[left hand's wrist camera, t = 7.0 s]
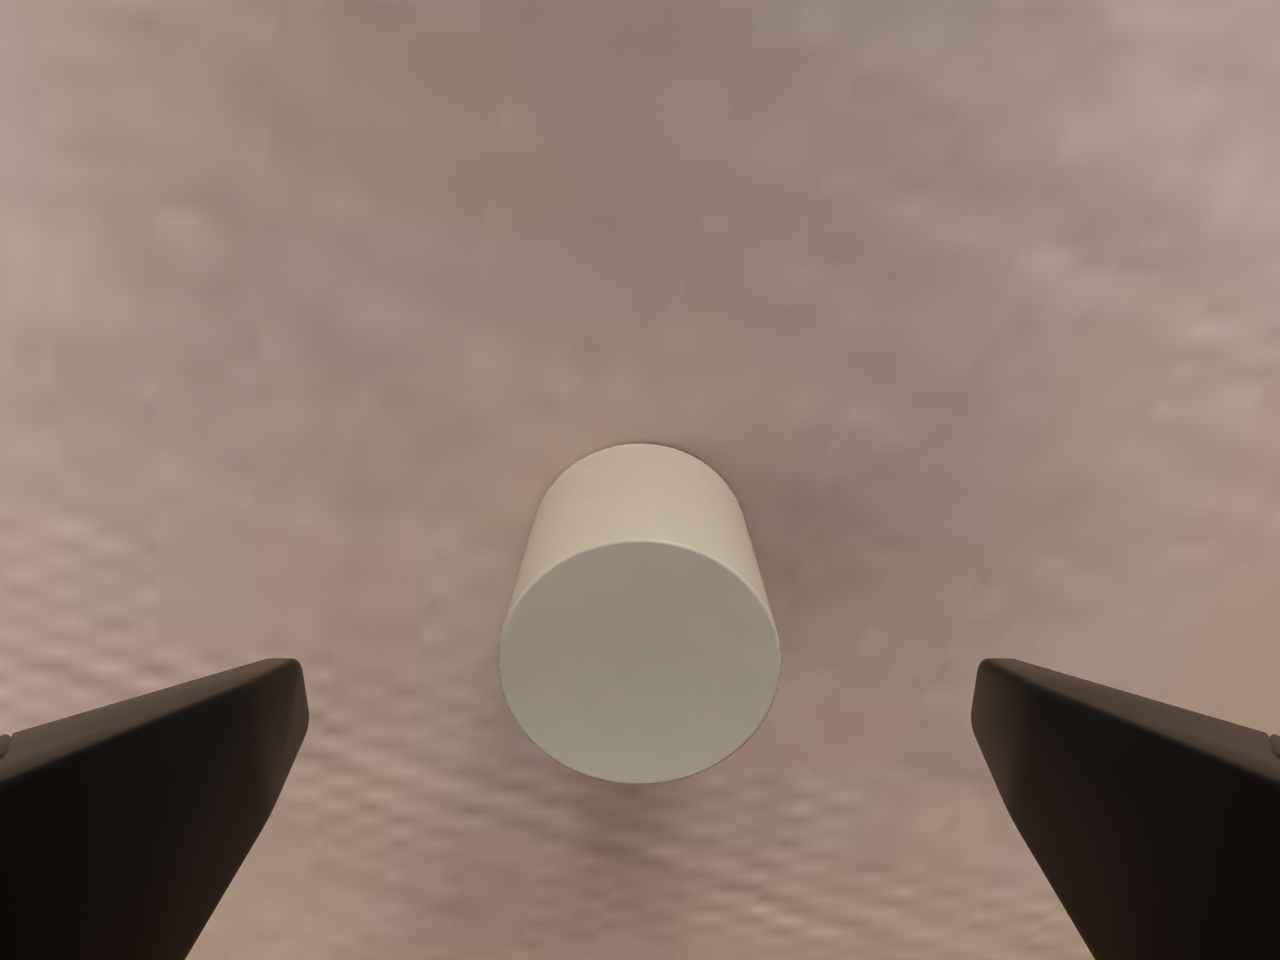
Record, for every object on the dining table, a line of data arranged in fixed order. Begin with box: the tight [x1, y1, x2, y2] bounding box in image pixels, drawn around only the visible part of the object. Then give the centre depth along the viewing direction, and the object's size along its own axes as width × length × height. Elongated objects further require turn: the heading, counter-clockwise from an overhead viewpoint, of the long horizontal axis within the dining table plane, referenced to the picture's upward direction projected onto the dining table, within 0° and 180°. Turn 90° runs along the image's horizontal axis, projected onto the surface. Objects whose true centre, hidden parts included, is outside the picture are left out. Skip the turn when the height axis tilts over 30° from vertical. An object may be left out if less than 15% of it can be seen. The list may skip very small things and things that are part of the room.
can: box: [498, 443, 781, 784], centre depth 14 cm, size 4×4×4 cm
